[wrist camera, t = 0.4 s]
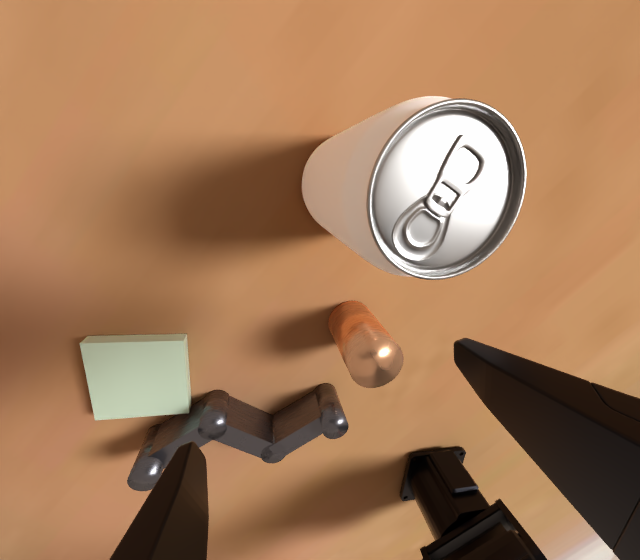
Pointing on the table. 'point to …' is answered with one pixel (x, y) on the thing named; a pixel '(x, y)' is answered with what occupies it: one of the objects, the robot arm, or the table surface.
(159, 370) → the pad
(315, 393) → the dark grey zigzag bar
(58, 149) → the table surface
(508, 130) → the can
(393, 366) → the cylinder
